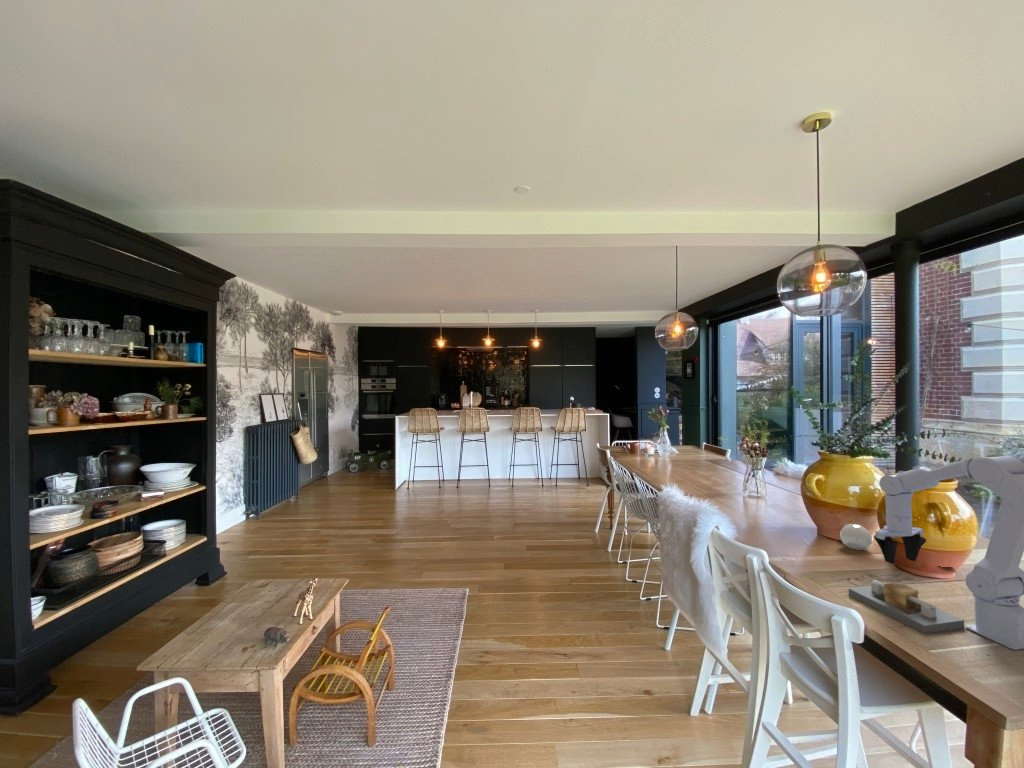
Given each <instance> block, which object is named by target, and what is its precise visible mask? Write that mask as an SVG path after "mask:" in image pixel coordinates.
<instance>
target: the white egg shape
mask: <svg viewBox="0 0 1024 768" xmlns="http://www.w3.org/2000/svg"><path fill="white" fill-rule="evenodd" d="M844 525H845V526H844V527H843V528H842V529H841V531H840V535H839V537H840V540H841V542H842V544H843V545H845V546H846V547H848V548H849V549H851V550H855V551H856V550H857V551H864V550H867V549H868V548H869V547H871V545H872V544H873V536H872V534H871V532H870V531H869V530H868V529H867V528H865V527H864V526H863V525H861V524H857V523H848V524H844Z"/></svg>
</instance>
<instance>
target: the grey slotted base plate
mask: <svg viewBox="0 0 1024 768" xmlns="http://www.w3.org/2000/svg"><path fill="white" fill-rule="evenodd" d="M870 583H871V584H870V585H866V586H859V587H858V586H857V587H850V588H848V597H849V596H850V597H852V598H853V599H855V600H857V601H859V602H861V603H864V604H865V605H867V606H869V607H871V608H873V609H875V610H877V611H879V612H881V613H884V614H885V615H887V616H888V617H891V618H893V619H895V620H897V621H899V622H901V623H903V624H904V625H907V624H908V625H907V626H909V627H910V628H912V629H915V630H917V631H919V632H920V633H922V634H933V633H939V632H940V631H941V632H947V631H946V630H948V631H952V630H951V629H955V630H960V629H959V628H962V629H965V619H962V618H960V617H958V616H955V615H954V614H951V613H949V612H946V611H944V610H942V609H939V608H937V607H935V605H934V604H932V603H929V602H927V601H924V600H922V599H920V598H919V599H917V598H915V597H913V596H908V597H906V599H909V600H911V601H913V602H915V603H917V604H919V609H915V608H913V607H911V606H910V608H912V609H914V610H916V611H918V612H917V613H908V612H907V611H903V610H900V609H898V608H896V607H894V606H892V605H890V604H888V603H886V602H885V593H884V584H885V583H883V582H881V581H879V580H876V579H872V581H871V582H870Z"/></svg>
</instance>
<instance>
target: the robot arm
mask: <svg viewBox="0 0 1024 768" xmlns="http://www.w3.org/2000/svg"><path fill="white" fill-rule="evenodd" d="M964 476H965V477H967V478H973V479H974V480H975V481H977V482H978V483H980V484H981V485H983V486H984V487H985V488H987V489H988V490H989V491H991V492H993V493H994V494H995V495H997V497H999V499H1001V502H1000V505H999V508H998V512H997V516H996V519H995V522H994V526H993V528H992V532H991V535H990V538H989V542H988V545H987V548H986V552H985V555H984V557H983V558H982V559H981V560H980V561H978V562H977V563H976V564H974V566H973V569H972V571H971V572H968V573H967V574H966V575H965V585H966V587H967V589H968V590H969V592H971V593H972V596H973V597H974V619H975V623H974V624H970V625H969V624H968V625H965V629H968V630H970V631H972V632H974V633H976V634H978V635H981V636H982V637H985V638H987V639H989V640H991V641H994V642H996V643H998V644H1000V645H1003V646H1005V647H1007V648H1009V649H1011V650H1014V651H1016V650H1023V649H1024V606H1022V605H1020V602H1021V599H1020V597H1022V596H1024V569H1022V568H1021V567H1020V564H1021V561H1022V558H1023V556H1024V458H1022V457H1019V456H1017V455H1011V454H1007V455H1003V456H990V457H986V456H978V457H975V458H967V459H961V460H958V461H955V462H951V463H947V464H944V465H942V466H938V467H935V468H930V467H927V466H921V465H916V466H912V469H910V470H907V471H905V470H899V471H897V474H885V475H883V476H881V477H880V480H879V487H880V489H881V490H882V492H884V494H885V495H884V496H885V497H884V499H885V521H886V523H885V525H883V528H881V529H879V530H875V531H874V532H875V535H874V540H875V542H876V543H877V544H878V546H879V548H880V550H881V553H882V555H883V559H884V561H885V562H886V563H889V564H895V562H896V552H897V548H898V545H899V542H898V541H897V540H896V541H895V540H894V539H893V538H901V539H902V541H903V546H904V553H905V557H906V560H909V561H912V562H916V561H917V559H918V557H917V556H918V553H919V550H920V548H921V546H922V545H923V544H924V543H925V542H926V543H927V538H926V539H925V537H924V529H923V528H920V527H917V526H915V527H913V516H912V515H913V514H912V513H913V512H912V499H913V496H914V493H915V492H918V491H922V490H926V489H931V488H936V487H937V486H938V485H939V484H940V481H945V480H950V479H953V478H958V477H959V478H960V477H964Z"/></svg>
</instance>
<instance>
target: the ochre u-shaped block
mask: <svg viewBox="0 0 1024 768" xmlns="http://www.w3.org/2000/svg"><path fill="white" fill-rule="evenodd" d="M883 584H884V593H885V601H884V602H885V603H887V604H889V605H891V606H893V607H895V608H898V609H900V610H902V611H904V612H907V611H908V609H907V607H909V606H911V607H913V608H912V609H914V608H915V609H914V610H916V609H919V604H917V603H915V602H913V601H911V600H909V599H906V597H908V596H913V597H915V598H917V599H920V598H919V590H918V589H916V588H913V587H911V586H909V585H906V584H904V583H901V582H899V581H897V582H889V583H883ZM907 605H908V606H907ZM911 607H910V608H911Z"/></svg>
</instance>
